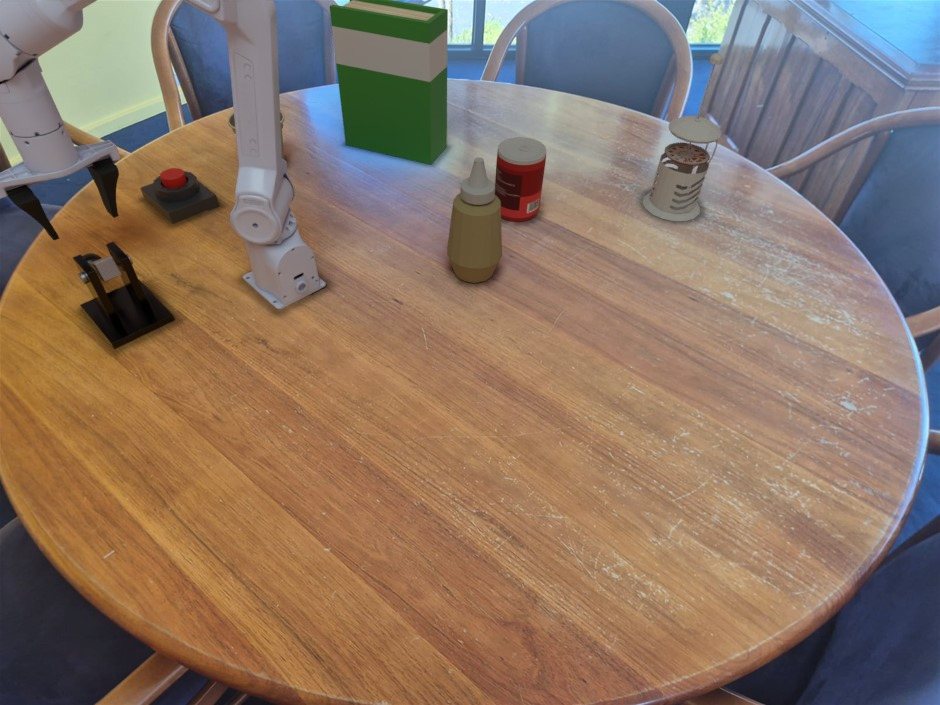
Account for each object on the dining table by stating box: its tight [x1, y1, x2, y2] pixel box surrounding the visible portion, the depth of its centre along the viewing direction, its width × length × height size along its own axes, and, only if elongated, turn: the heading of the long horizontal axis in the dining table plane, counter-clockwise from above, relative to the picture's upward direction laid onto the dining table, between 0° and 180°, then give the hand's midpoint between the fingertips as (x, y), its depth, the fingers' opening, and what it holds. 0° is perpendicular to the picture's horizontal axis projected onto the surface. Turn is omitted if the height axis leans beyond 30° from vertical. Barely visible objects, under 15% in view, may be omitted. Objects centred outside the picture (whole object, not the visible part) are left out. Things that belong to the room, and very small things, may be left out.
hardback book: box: [329, 0, 449, 166], centre depth 109 cm, size 18×7×24 cm, turn 69°
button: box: [159, 167, 187, 188], centre depth 99 cm, size 4×4×2 cm
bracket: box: [72, 241, 176, 350], centre depth 79 cm, size 10×8×10 cm
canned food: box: [494, 136, 547, 223], centre depth 100 cm, size 8×8×11 cm
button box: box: [140, 170, 220, 225], centre depth 100 cm, size 10×8×4 cm
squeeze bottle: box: [446, 157, 503, 283], centre depth 85 cm, size 8×8×18 cm
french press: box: [641, 52, 724, 222], centre depth 98 cm, size 10×12×25 cm
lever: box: [82, 252, 122, 283], centre depth 81 cm, size 13×3×3 cm, turn 45°
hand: (84, 224), depth 82 cm, fingers open, 7 cm apart
